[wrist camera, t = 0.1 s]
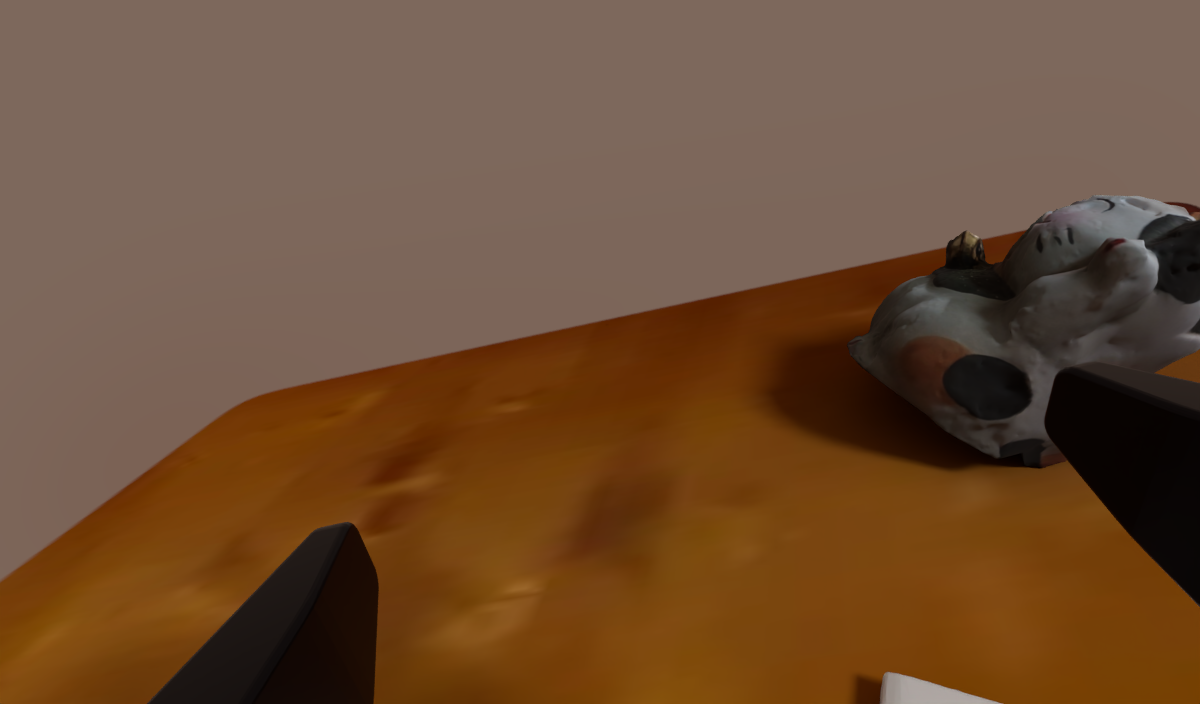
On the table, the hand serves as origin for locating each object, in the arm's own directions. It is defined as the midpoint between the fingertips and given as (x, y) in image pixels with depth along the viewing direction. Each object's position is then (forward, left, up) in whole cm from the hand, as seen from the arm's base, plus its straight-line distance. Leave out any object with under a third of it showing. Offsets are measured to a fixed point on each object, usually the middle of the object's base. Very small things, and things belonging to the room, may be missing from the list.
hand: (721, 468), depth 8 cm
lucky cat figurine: (+20, -22, -17) cm, 34 cm away
